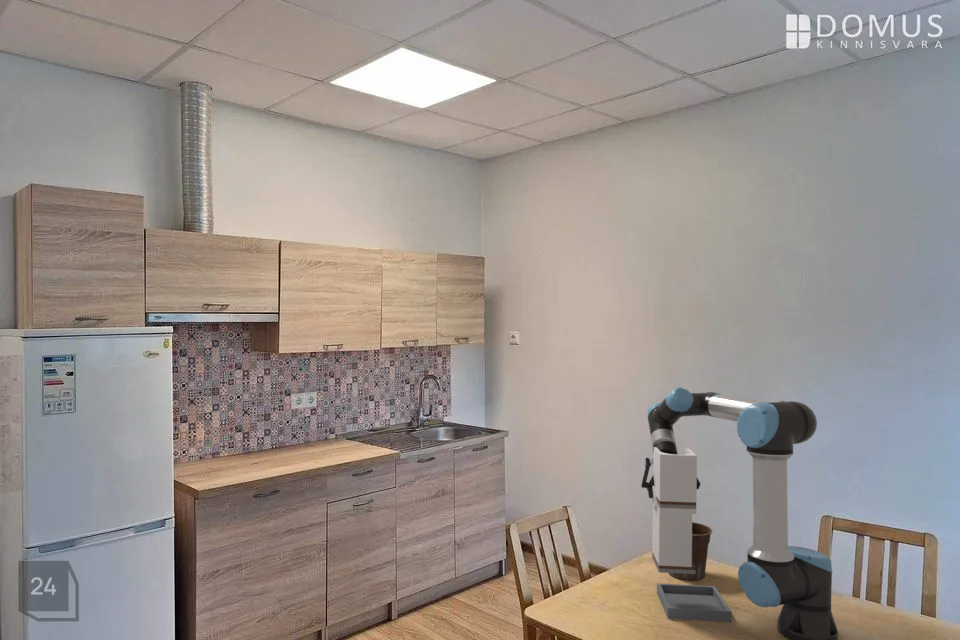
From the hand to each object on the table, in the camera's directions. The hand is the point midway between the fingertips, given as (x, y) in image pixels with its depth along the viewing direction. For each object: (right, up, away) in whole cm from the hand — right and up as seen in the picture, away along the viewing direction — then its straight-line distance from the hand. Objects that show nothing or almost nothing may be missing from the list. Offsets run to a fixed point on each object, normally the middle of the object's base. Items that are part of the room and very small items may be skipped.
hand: (674, 507), depth 198 cm
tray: (+5, -30, 0) cm, 30 cm away
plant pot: (+12, -30, +26) cm, 41 cm away
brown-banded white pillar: (0, -18, +1) cm, 18 cm away
